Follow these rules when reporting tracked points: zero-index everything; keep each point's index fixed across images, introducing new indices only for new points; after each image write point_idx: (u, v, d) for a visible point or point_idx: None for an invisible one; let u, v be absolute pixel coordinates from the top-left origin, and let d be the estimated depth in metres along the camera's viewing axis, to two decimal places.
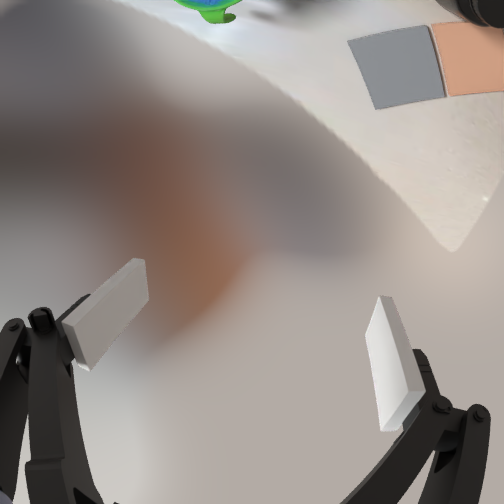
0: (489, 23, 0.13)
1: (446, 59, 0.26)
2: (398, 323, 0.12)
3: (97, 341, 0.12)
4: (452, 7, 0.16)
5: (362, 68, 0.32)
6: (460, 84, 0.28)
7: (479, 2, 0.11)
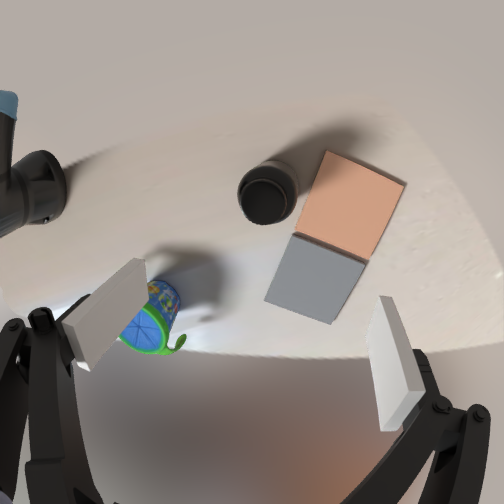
0: (274, 220, 0.29)
1: (332, 240, 0.40)
2: (398, 323, 0.12)
3: (97, 341, 0.12)
4: None
5: (291, 308, 0.46)
6: (364, 241, 0.40)
7: (249, 218, 0.29)
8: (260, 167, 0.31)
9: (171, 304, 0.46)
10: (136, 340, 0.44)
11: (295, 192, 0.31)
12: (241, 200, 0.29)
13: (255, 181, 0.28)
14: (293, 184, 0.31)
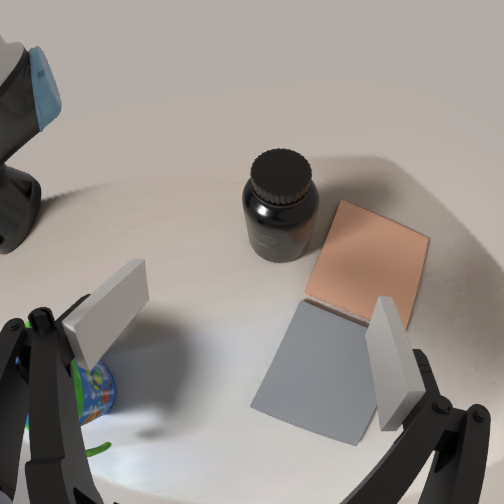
0: (296, 190, 0.21)
1: (355, 306, 0.28)
2: (398, 323, 0.12)
3: (97, 341, 0.12)
4: (277, 240, 0.26)
5: (293, 420, 0.25)
6: (396, 306, 0.28)
7: (261, 186, 0.21)
8: None
9: (100, 382, 0.24)
10: None
11: (317, 191, 0.25)
12: (254, 166, 0.22)
13: (274, 149, 0.23)
14: None
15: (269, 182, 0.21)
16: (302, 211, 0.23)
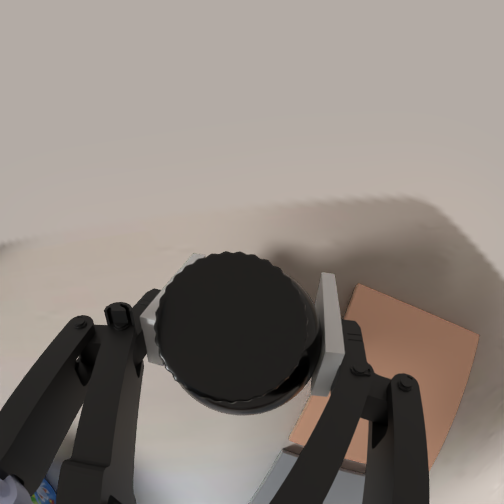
0: (261, 389, 0.08)
1: (364, 455, 0.15)
2: (333, 295, 0.14)
3: None
4: None
5: None
6: None
7: (176, 372, 0.08)
8: None
9: None
10: None
11: (319, 328, 0.11)
12: (161, 310, 0.09)
13: (214, 256, 0.09)
14: (314, 308, 0.12)
15: (195, 362, 0.08)
16: (282, 389, 0.10)
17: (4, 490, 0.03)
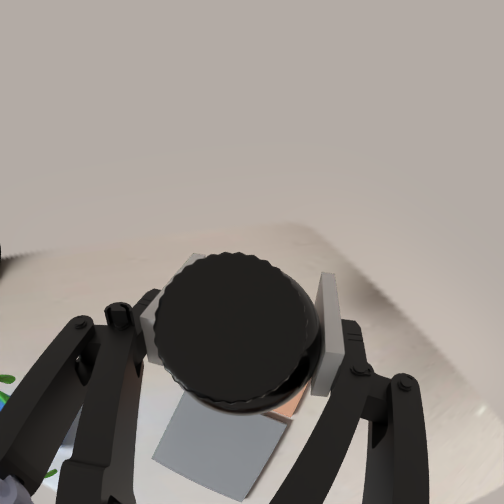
0: (261, 390, 0.08)
1: None
2: (333, 295, 0.14)
3: None
4: None
5: (185, 474, 0.26)
6: None
7: (175, 372, 0.08)
8: None
9: None
10: None
11: (319, 329, 0.11)
12: (161, 310, 0.09)
13: (214, 256, 0.09)
14: (314, 308, 0.12)
15: (194, 363, 0.08)
16: (282, 389, 0.10)
17: (4, 490, 0.03)
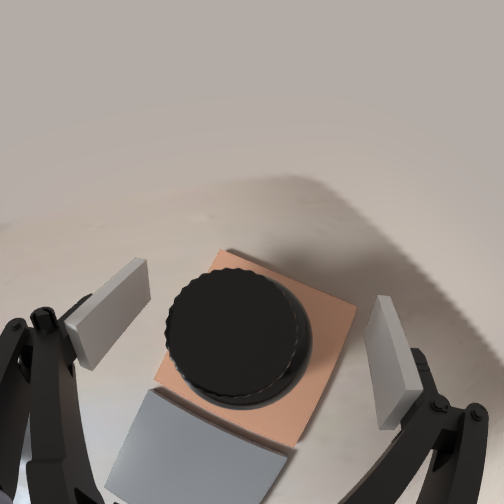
0: (258, 386, 0.09)
1: (219, 407, 0.19)
2: (396, 322, 0.12)
3: (99, 341, 0.12)
4: None
5: None
6: (284, 413, 0.19)
7: (184, 372, 0.09)
8: None
9: None
10: None
11: (310, 333, 0.13)
12: (171, 319, 0.10)
13: (216, 271, 0.11)
14: (305, 314, 0.13)
15: (201, 364, 0.09)
16: (277, 386, 0.11)
17: None
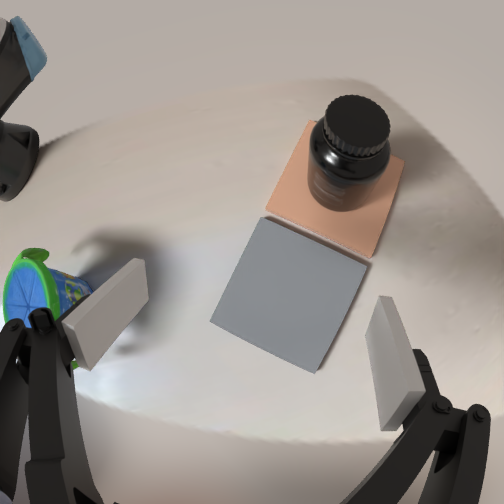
0: (376, 143, 0.17)
1: (317, 224, 0.29)
2: (398, 323, 0.12)
3: (97, 341, 0.12)
4: (347, 191, 0.22)
5: (250, 338, 0.28)
6: (363, 228, 0.28)
7: (340, 136, 0.17)
8: None
9: None
10: None
11: (388, 142, 0.20)
12: (328, 113, 0.18)
13: (347, 95, 0.18)
14: None
15: (347, 132, 0.17)
16: (377, 163, 0.20)
17: None
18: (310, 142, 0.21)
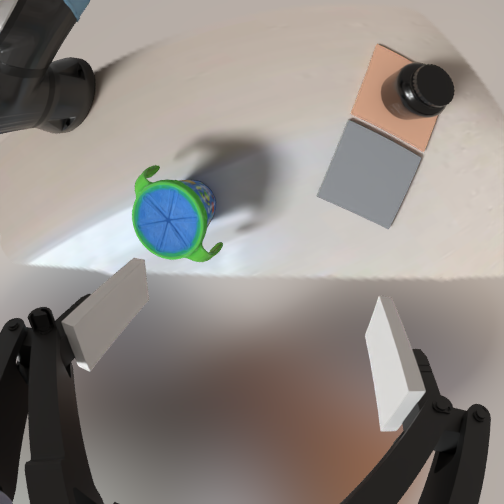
0: (446, 103, 0.21)
1: (388, 127, 0.34)
2: (398, 323, 0.12)
3: (97, 341, 0.12)
4: (417, 117, 0.27)
5: (346, 206, 0.40)
6: (418, 131, 0.33)
7: (425, 96, 0.22)
8: None
9: (209, 198, 0.39)
10: (161, 241, 0.37)
11: None
12: (418, 78, 0.21)
13: (429, 65, 0.20)
14: None
15: (430, 94, 0.21)
16: (440, 107, 0.24)
17: None
18: (398, 86, 0.25)
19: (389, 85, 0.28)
